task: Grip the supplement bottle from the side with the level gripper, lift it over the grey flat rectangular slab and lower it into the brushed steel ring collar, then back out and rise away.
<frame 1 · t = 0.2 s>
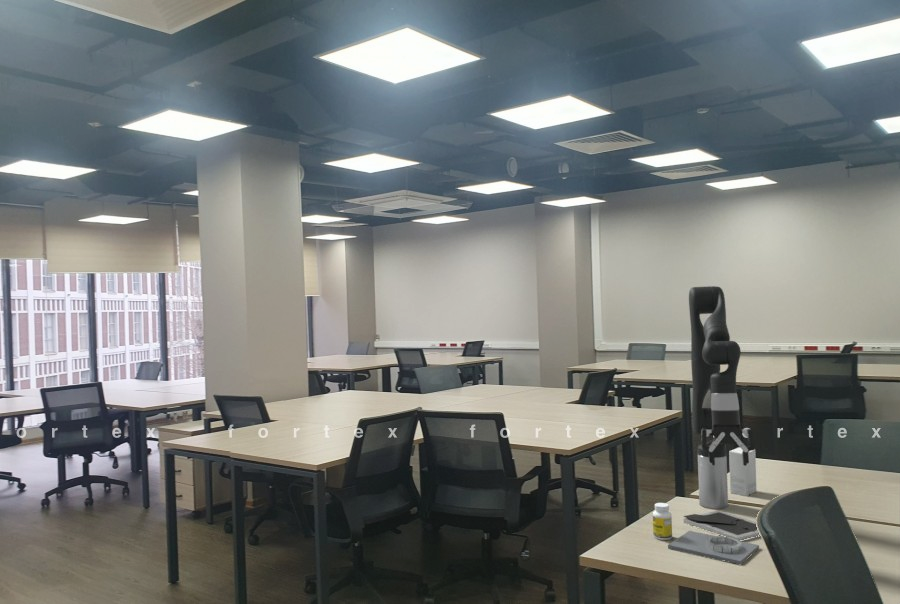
hand: (728, 465, 192), 22 cm above the table, tool pointing down, fingers open, 8 cm apart
grey flat rectangular slab: (713, 548, 187), on the table
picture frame: (728, 530, 204), on the table
steel ring collar: (724, 550, 185), resting on grey flat rectangular slab
skincare box: (743, 493, 240), on the table
supplement bottle: (662, 538, 197), on the table
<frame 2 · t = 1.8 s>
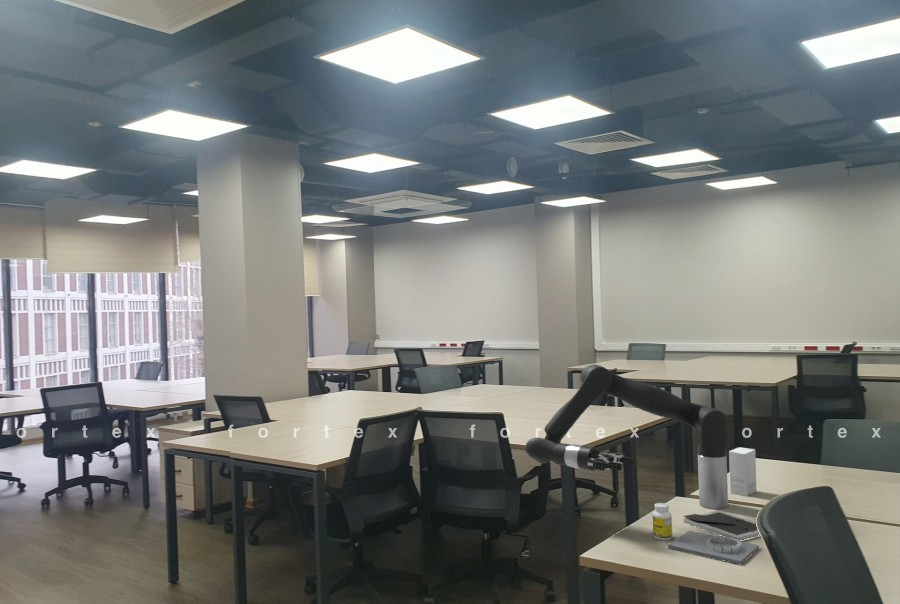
hand: (627, 464, 204), 20 cm above the table, tool horizontal, fingers open, 8 cm apart
nothing on the table moved.
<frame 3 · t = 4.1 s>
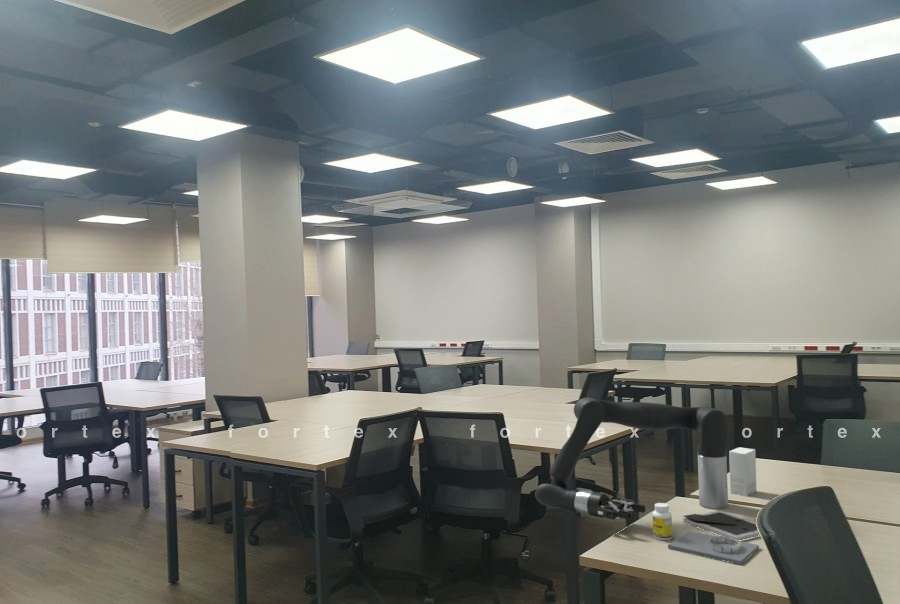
hand: (638, 512, 203), 6 cm above the table, tool horizontal, fingers open, 8 cm apart
nothing on the table moved.
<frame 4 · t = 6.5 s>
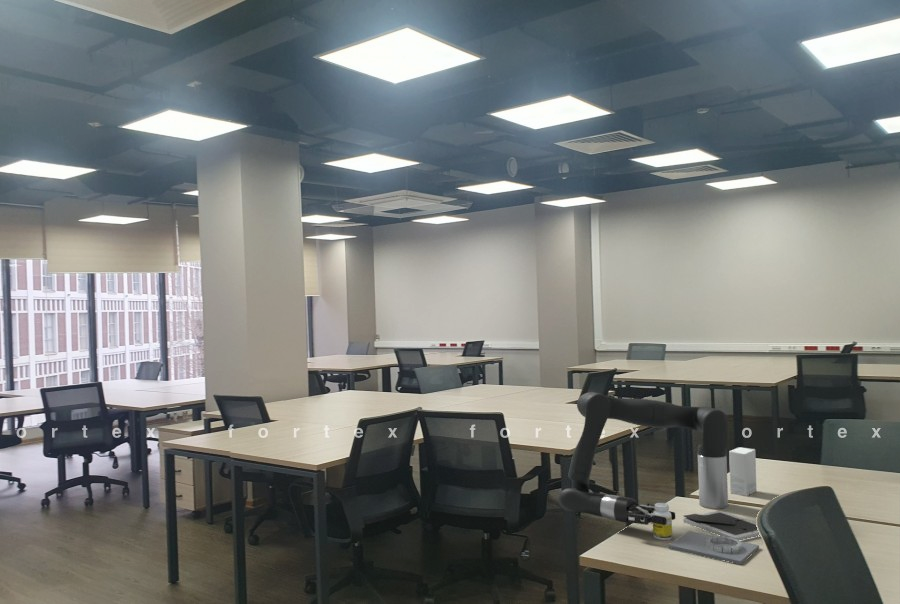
hand: (670, 518, 196), 6 cm above the table, tool horizontal, fingers closed on supplement bottle, 5 cm apart
supplement bottle: (662, 538, 197), on the table, touching gripper
everything else where it was.
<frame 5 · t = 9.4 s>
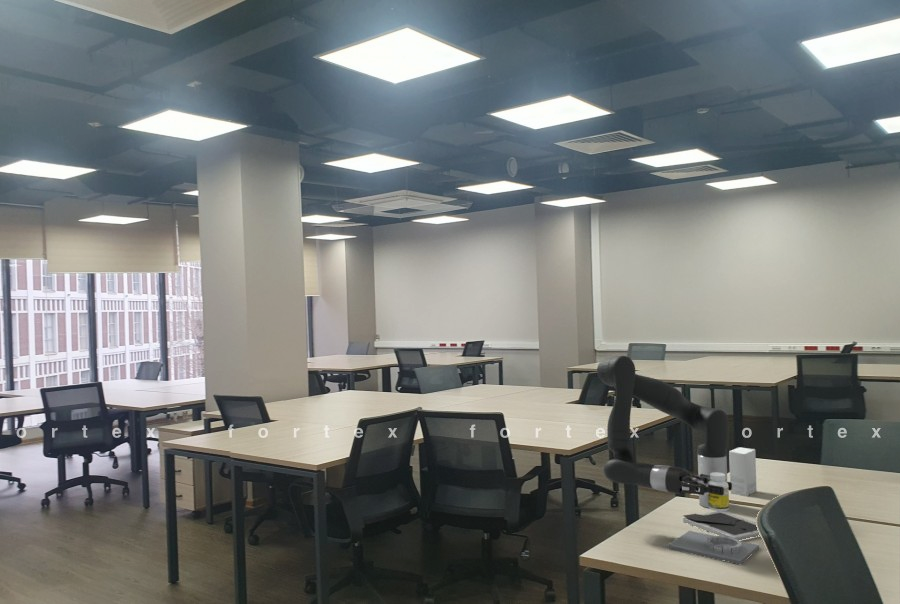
hand: (727, 488, 184), 18 cm above the table, tool horizontal, fingers closed on supplement bottle, 5 cm apart
supplement bottle: (718, 509, 186), point 11 cm above the table, touching gripper
everything else where it was.
when the fingers open (8 cm above the table, at t = 12.4 s): supplement bottle stays where it is, resting on grey flat rectangular slab.
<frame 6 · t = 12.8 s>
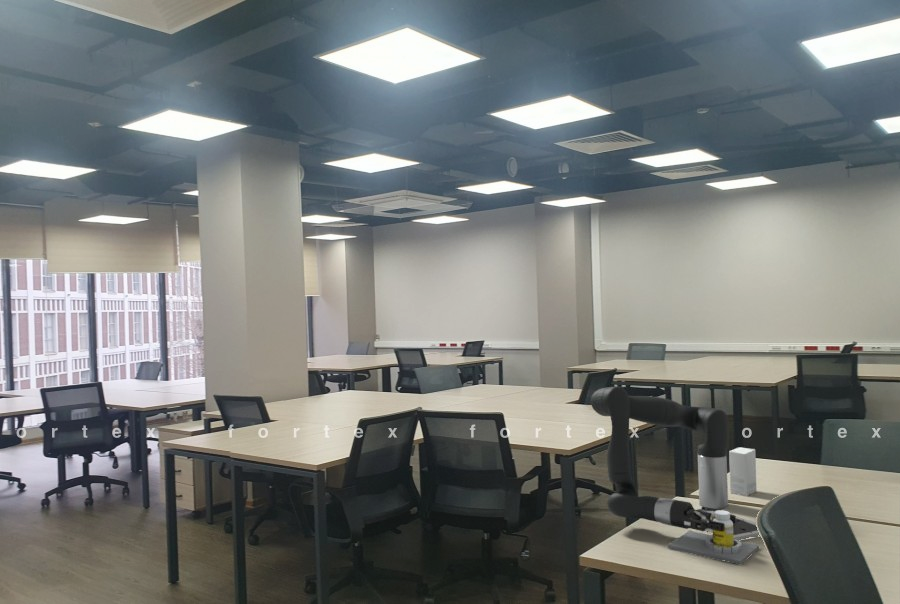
hand: (730, 523, 184), 8 cm above the table, tool horizontal, fingers open, 8 cm apart
supplement bottle: (723, 547, 185), point 1 cm above the table, touching grey flat rectangular slab
everything else where it was.
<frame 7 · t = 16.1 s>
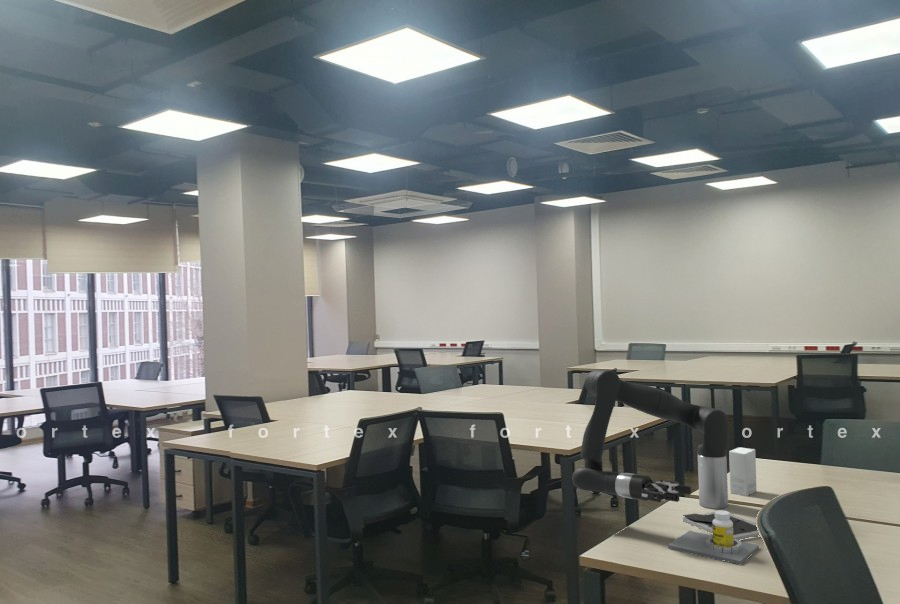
hand: (685, 494, 193), 14 cm above the table, tool horizontal, fingers open, 8 cm apart
nothing on the table moved.
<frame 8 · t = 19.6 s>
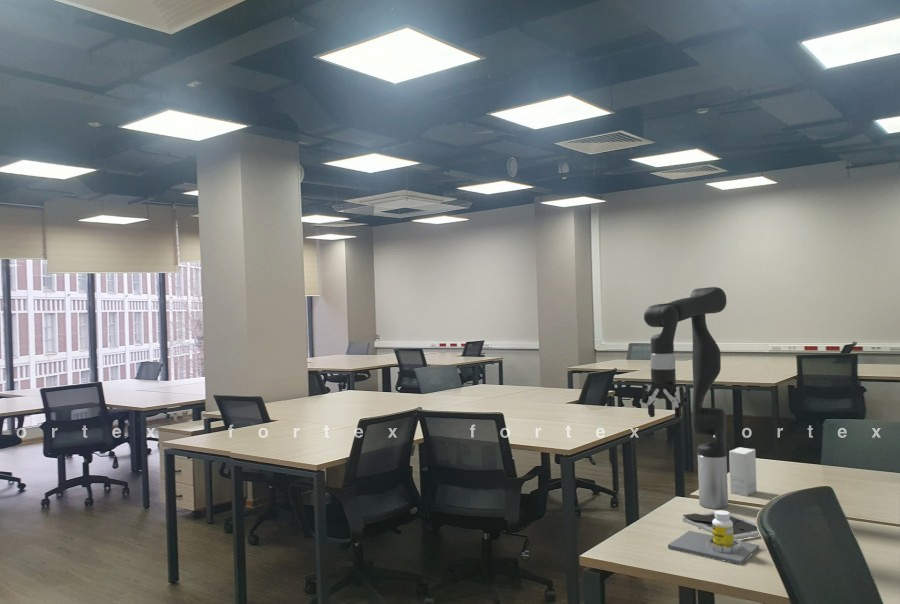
hand: (664, 417, 212), 33 cm above the table, tool pointing down, fingers open, 8 cm apart
at the end: supplement bottle 0.1 cm off-centre on the steel ring collar, point 0.8 cm above the steel ring collar's base; supplement bottle tilted 0°; the gripper is holding nothing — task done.
